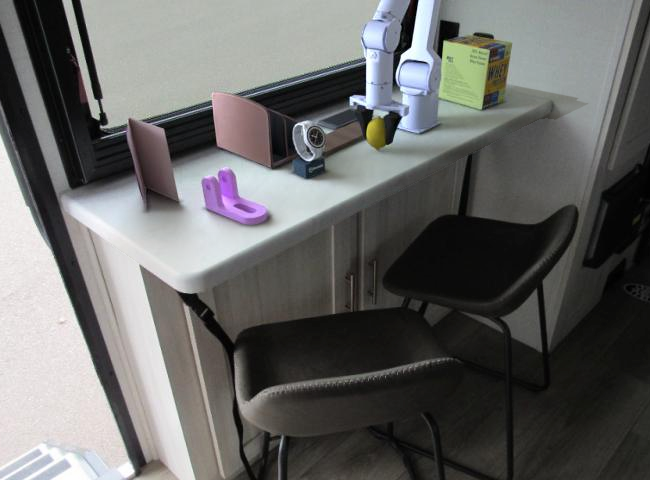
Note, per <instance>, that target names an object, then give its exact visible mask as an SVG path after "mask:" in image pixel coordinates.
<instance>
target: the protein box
mask: <svg viewBox="0 0 650 480" xmlns="http://www.w3.org/2000/svg"><path fill="white" fill-rule="evenodd" d="M442 45H443V46H442V57H441V60H442V65H441V81H440V84H439V87H438V96H439V99H441V100H446V101H448V102H452V103H456V104H459V105H463V106H466V107H470V108H473V109H477V110H481V111H482V110H484V109H488V108H491V107H492V106H495V105H498V104H501V103H503V102H504V101H505V94H506V88H507V81H508V75H509V67H510V61H511V54H512V48H513V42H511V41H504V40H499V39H494V38H489V37H482V36H477V35H471V34H465V35H461V36H457V37H453V38H449V39H445V40H443V44H442Z"/></svg>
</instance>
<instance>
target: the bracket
mask: <svg viewBox="0 0 650 480" xmlns="http://www.w3.org/2000/svg"><path fill="white" fill-rule="evenodd" d="M201 187H202V194H203V200H204V206H205V209H207V210H210V211H211V212H214V213H216V214H219V215H221V216H224V217H227V218H228V219H231V220H234V221H236V222H239V223H241V224H243V225H258V224H261V223H264V222H265V221H266V220H268V210H267V207H266V206H265V205H263V204H261V203H258V202H255V201H252V200H250V199H247V198H245V197H241V196H240V195H239V189H238V182H237V177H236V173H235V172H234V171H233V169H231V168H229V167H223V168H222V169H220V170H219V171H217V178H216V177H215V175H212V174H209V175H207V176H205V177H203V178H202V179H201Z"/></svg>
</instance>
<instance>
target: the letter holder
mask: <svg viewBox="0 0 650 480" xmlns="http://www.w3.org/2000/svg"><path fill="white" fill-rule="evenodd" d="M211 104H212V112H213V113H212V114H213V115H212V116H213V123H214V130H215V138H216V146H217V147H218V148H220V149H222V150H225V151H228V152H230V153H232V154H235V155H238V156H240V157H242V158H244V159H247V160H250V161H252V162H255V163H257V164H259V165H262V166H264V167H267V168H269V169H271V170H272V169H273V170H274V168H276V167H279V166H281V165H283V164H285V163H288V162H291V161H293V159H295V158H298V157H301V156H300V155H299V154H298V153H297V150H296V148H295V145H294V142H293V128H294V126H295V125H296V124H298V123H299V122H298V121H297V120H296V119H294V118H292V117H290V116H288V115H285V114H283V113H281V112H278V111H276V110H273V109H270V108H268V107H265V106H264V105H262V104H260V103H258V102H256V101H254V100H253V99H250V98H247V97H245V96H241V95H239V94H236V93H231V92H226V91H225V92H223V91H212V92H211Z"/></svg>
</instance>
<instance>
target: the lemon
mask: <svg viewBox="0 0 650 480" xmlns="http://www.w3.org/2000/svg"><path fill="white" fill-rule="evenodd" d="M385 134H386V131H385V123H384V119H383V117H381V116H379V115H378V116H376V117H374V118H372V120H371V121H370V122H369V124H368V127H367V132H366V137H367V140H366V141H367V143H368V145H369V146H370V147H372V148H373V149H375V150H376V151H380V150H381V149H382V148H385V147H386V146H387V145H386V143H385Z"/></svg>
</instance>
